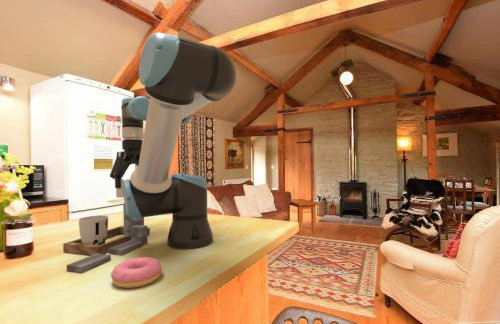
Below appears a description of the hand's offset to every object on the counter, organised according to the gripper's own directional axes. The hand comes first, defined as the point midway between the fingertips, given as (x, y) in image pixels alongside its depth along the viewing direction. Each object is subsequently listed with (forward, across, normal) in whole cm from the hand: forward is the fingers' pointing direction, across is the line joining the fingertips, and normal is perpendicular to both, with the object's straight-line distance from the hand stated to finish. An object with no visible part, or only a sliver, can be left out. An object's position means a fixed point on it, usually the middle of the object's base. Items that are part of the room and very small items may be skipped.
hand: (133, 195), depth 101 cm
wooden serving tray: (+15, +11, 0) cm, 18 cm away
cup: (+15, +18, 0) cm, 23 cm away
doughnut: (+16, +32, +28) cm, 45 cm away
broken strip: (+15, +20, +10) cm, 27 cm away
